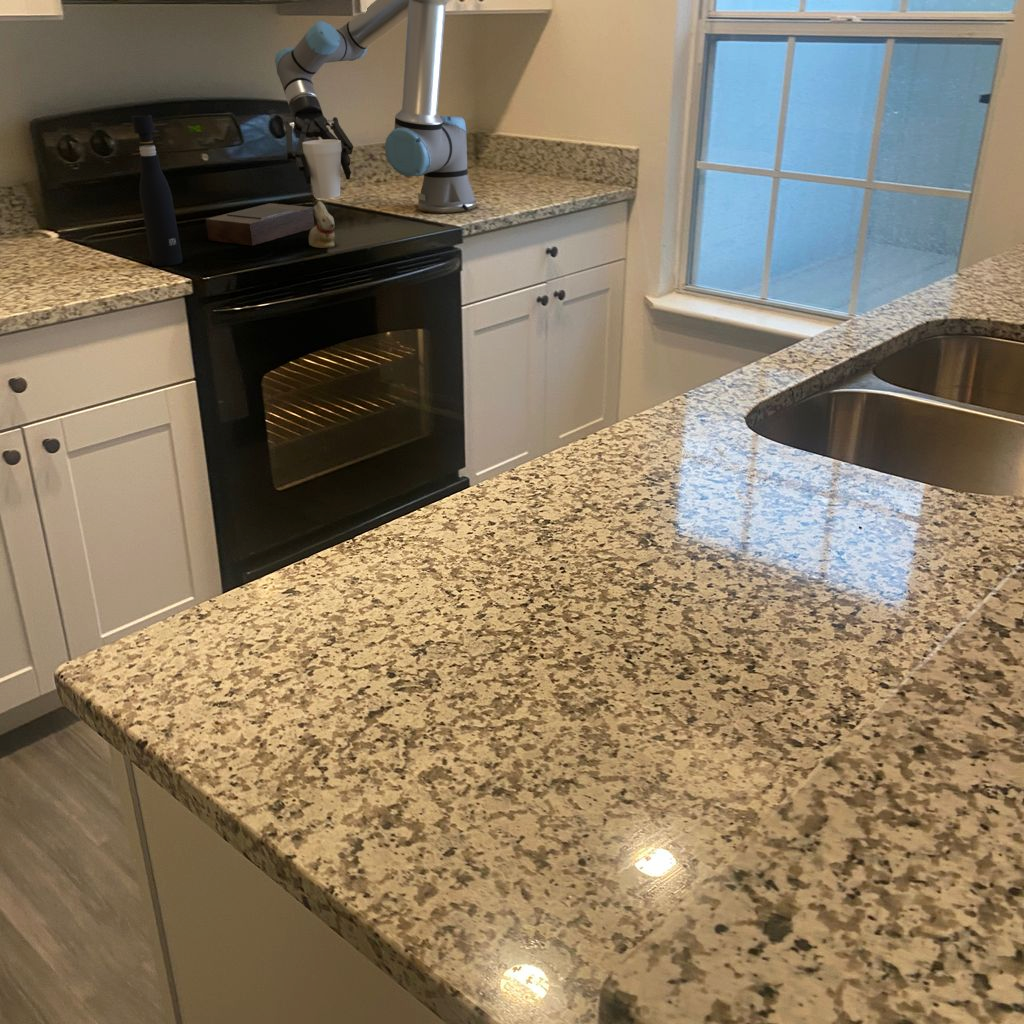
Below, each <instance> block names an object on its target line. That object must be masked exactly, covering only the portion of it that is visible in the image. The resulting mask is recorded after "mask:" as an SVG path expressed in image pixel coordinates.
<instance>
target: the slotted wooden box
mask: <svg viewBox="0 0 1024 1024" xmlns="http://www.w3.org/2000/svg"><path fill="white" fill-rule="evenodd" d="M313 208H314V206H303V205H293V204H284V203H283V204H281V203H272V202H271V203H265V204H261V205H257V206H253V207H249V208H245V209H241V210H237V211H232V212H228V213H224V214H221V215H220V214H219V215H215V216H212V217H208V218H205V225H206V232H207V237H208V241H211V242H219V243H227V244H236V245H245V246H251V247H252V246H256V245H260V244H263V243H266V242H270V241H274V240H278V239H280V238H281V239H282V238H284V237H288V236H291V235H294V234H299V233H302V232H306V231H310V230H311V229H312V228H313V227H315V226H316V225H315V218H314V217H315V215H314V211H313Z"/></svg>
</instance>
